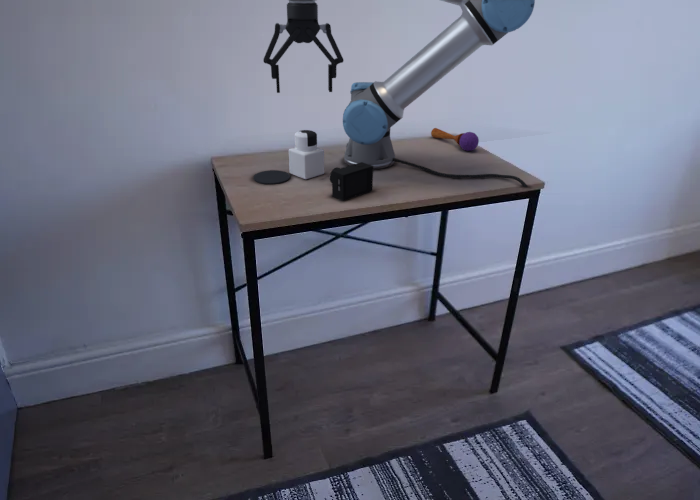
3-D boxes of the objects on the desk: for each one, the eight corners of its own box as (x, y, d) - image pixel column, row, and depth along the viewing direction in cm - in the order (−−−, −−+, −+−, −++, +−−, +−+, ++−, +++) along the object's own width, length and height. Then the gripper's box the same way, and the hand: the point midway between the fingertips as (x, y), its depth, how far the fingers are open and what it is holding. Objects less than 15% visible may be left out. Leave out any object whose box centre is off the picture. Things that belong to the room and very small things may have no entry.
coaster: (295, 173, 148) (295, 172, 148) (281, 186, 140) (281, 184, 139) (263, 170, 151) (262, 168, 150) (247, 181, 142) (247, 180, 142)
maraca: (443, 124, 182) (484, 134, 166) (439, 141, 184) (480, 153, 168) (429, 123, 178) (470, 133, 163) (426, 140, 180) (466, 152, 165)
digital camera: (358, 185, 141) (358, 160, 137) (372, 191, 137) (373, 165, 134) (328, 195, 134) (328, 169, 131) (343, 201, 131) (343, 174, 128)
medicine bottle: (308, 167, 153) (307, 126, 147) (324, 174, 148) (324, 132, 143) (289, 173, 148) (287, 131, 143) (305, 180, 144) (304, 137, 138)
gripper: (350, 1, 132) (349, 87, 142) (250, 0, 129) (256, 89, 139) (355, 3, 126) (353, 93, 136) (249, 2, 123) (255, 95, 133)
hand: (304, 91), depth 138 cm, fingers open, 13 cm apart
